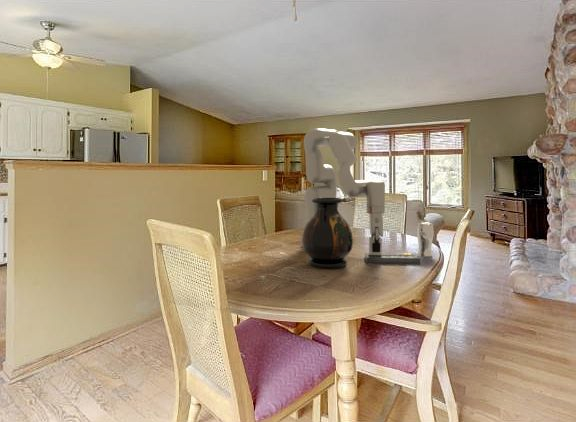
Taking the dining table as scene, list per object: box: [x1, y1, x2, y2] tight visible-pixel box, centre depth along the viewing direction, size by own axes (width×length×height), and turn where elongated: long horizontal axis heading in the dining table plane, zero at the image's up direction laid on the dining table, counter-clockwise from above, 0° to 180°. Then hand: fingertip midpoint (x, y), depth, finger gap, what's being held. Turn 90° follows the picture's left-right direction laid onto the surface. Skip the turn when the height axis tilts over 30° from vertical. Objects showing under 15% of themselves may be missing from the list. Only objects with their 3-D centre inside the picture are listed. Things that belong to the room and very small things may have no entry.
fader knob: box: [368, 236, 383, 255], centre depth 153 cm, size 5×4×7 cm
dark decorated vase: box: [301, 197, 354, 270], centre depth 148 cm, size 22×22×28 cm
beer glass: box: [416, 221, 435, 258], centre depth 161 cm, size 7×7×15 cm
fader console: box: [364, 252, 422, 265], centre depth 153 cm, size 22×9×3 cm, turn 82°
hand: (375, 249), depth 153 cm, fingers open, 7 cm apart
